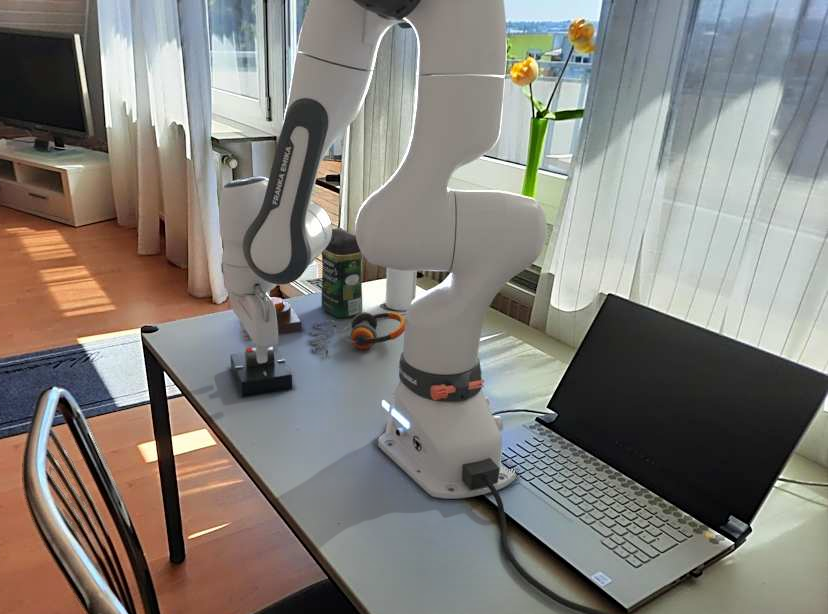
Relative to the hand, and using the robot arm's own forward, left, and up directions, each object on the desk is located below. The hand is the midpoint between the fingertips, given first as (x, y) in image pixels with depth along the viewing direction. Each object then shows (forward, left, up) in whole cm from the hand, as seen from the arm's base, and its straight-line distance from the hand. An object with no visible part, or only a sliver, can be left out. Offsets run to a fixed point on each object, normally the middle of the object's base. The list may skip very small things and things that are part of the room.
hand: (254, 350), depth 115 cm
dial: (+1, -1, -4) cm, 4 cm away
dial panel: (+1, -1, -7) cm, 7 cm away
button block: (+24, -9, -7) cm, 27 cm away
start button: (+24, -9, -3) cm, 26 cm away
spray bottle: (+25, -39, -7) cm, 47 cm away
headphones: (+10, -23, -7) cm, 26 cm away
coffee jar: (+26, -25, -7) cm, 37 cm away
